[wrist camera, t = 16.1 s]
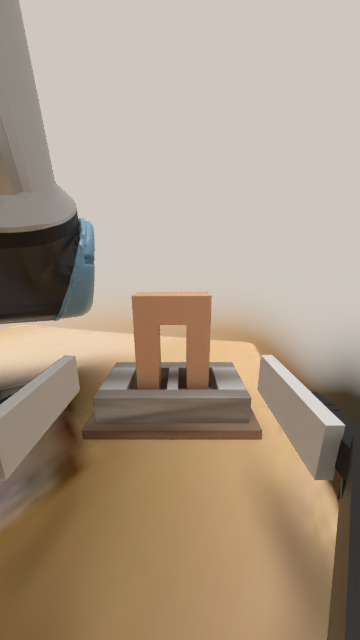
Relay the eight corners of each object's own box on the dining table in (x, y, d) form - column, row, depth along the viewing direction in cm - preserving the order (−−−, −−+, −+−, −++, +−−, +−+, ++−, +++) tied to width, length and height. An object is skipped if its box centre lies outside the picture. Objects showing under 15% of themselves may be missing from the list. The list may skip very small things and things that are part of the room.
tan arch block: (207, 407, 24) (211, 295, 21) (138, 407, 24) (131, 296, 21) (204, 392, 27) (207, 292, 23) (143, 392, 27) (137, 292, 23)
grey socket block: (261, 438, 21) (265, 404, 20) (83, 438, 21) (78, 404, 20) (235, 384, 30) (237, 359, 29) (114, 384, 30) (111, 359, 29)
